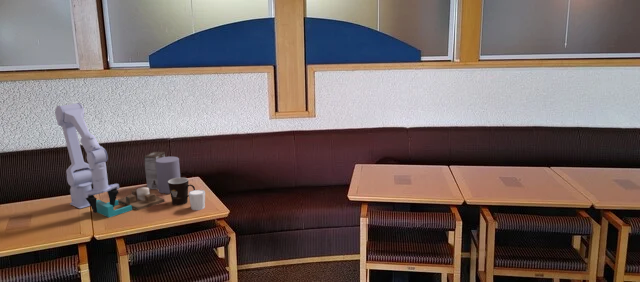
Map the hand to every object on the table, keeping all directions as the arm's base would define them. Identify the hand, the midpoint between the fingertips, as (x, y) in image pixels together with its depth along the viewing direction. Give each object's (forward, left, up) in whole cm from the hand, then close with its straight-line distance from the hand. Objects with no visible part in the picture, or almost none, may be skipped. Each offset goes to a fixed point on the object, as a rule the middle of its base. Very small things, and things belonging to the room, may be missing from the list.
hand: (103, 209), depth 217 cm
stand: (0, +17, -2) cm, 17 cm away
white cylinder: (+26, +28, -2) cm, 38 cm away
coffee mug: (+16, +27, -2) cm, 31 cm away
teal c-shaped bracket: (0, +4, -2) cm, 4 cm away
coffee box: (-13, +34, -2) cm, 36 cm away
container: (-3, +34, -2) cm, 34 cm away
